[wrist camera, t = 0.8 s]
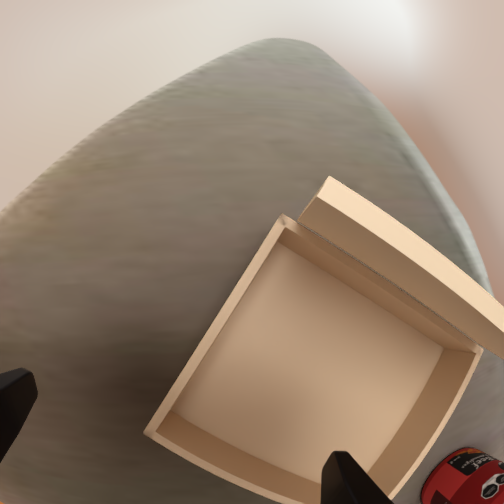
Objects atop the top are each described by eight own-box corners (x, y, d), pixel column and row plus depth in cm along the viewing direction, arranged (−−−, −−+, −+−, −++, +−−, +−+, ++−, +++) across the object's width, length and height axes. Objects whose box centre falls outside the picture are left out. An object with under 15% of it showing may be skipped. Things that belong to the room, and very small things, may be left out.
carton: (348, 496, 20) (366, 526, 15) (161, 408, 21) (142, 432, 16) (447, 344, 22) (483, 349, 17) (273, 232, 23) (281, 213, 18)
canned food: (488, 451, 20) (552, 481, 9) (447, 510, 19) (500, 554, 8) (451, 438, 21) (524, 478, 10) (404, 504, 19) (459, 562, 9)
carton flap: (588, 416, 5) (594, 407, 5) (316, 196, 6) (329, 175, 6) (479, 344, 17) (482, 338, 17) (297, 220, 18) (301, 213, 18)
